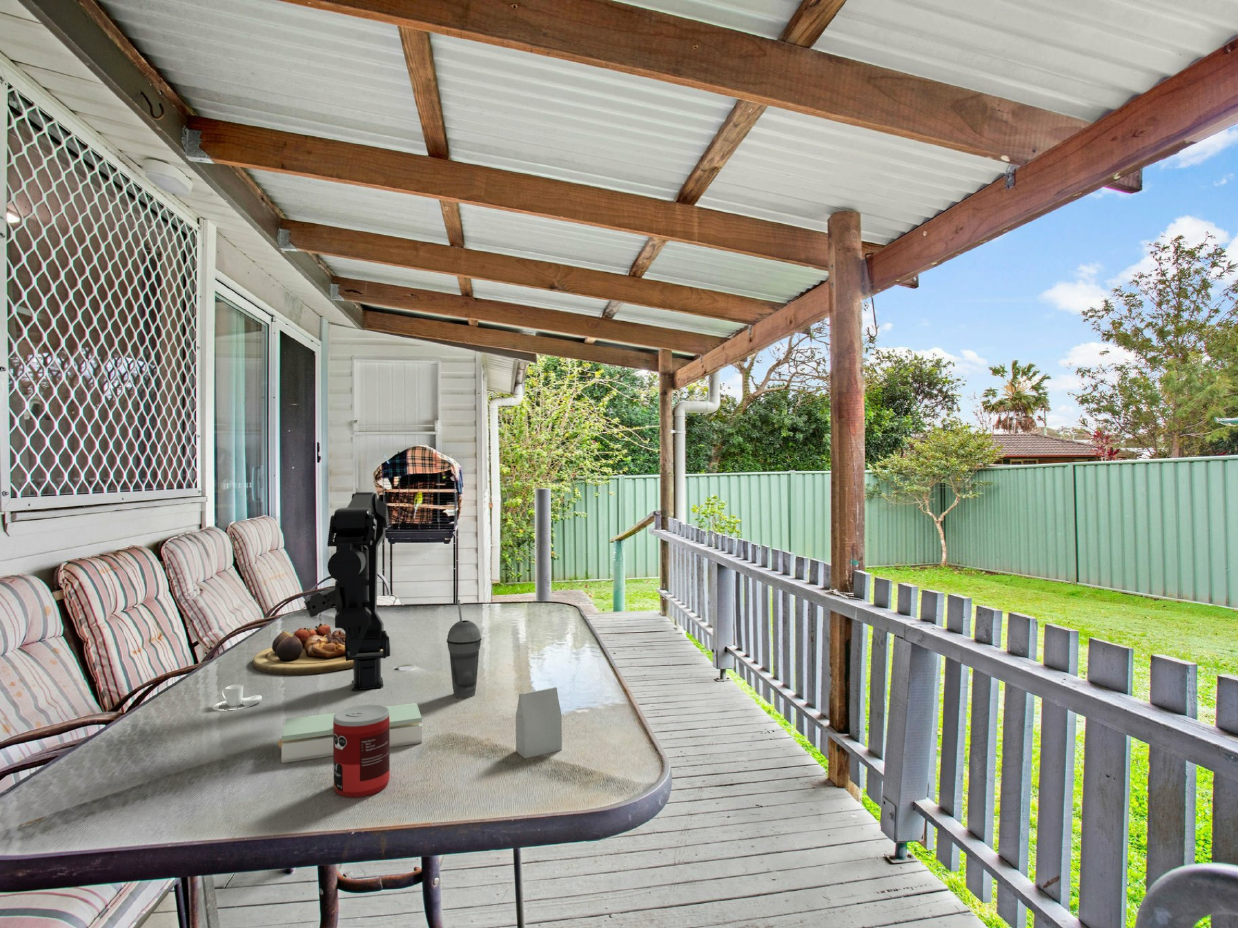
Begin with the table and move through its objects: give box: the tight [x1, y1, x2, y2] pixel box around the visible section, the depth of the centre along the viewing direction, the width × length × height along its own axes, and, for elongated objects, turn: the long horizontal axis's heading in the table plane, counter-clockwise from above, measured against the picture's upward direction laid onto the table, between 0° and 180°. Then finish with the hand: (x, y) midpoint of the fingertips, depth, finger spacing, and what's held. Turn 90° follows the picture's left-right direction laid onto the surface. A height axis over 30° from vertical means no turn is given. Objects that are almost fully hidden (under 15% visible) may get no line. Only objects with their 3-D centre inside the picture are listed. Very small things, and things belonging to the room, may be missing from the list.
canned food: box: [332, 704, 391, 798], centre depth 104 cm, size 8×8×11 cm
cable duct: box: [281, 723, 423, 764], centre depth 121 cm, size 10×22×3 cm, turn 111°
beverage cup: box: [446, 599, 483, 699], centre depth 147 cm, size 7×7×20 cm
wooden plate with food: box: [252, 622, 383, 676], centre depth 178 cm, size 32×32×8 cm
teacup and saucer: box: [212, 684, 263, 712], centre depth 142 cm, size 9×8×4 cm
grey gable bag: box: [515, 686, 563, 759], centre depth 117 cm, size 4×7×10 cm, turn 121°
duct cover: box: [281, 702, 423, 741], centre depth 121 cm, size 10×22×2 cm, turn 111°
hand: (353, 655), depth 133 cm, fingers closed
